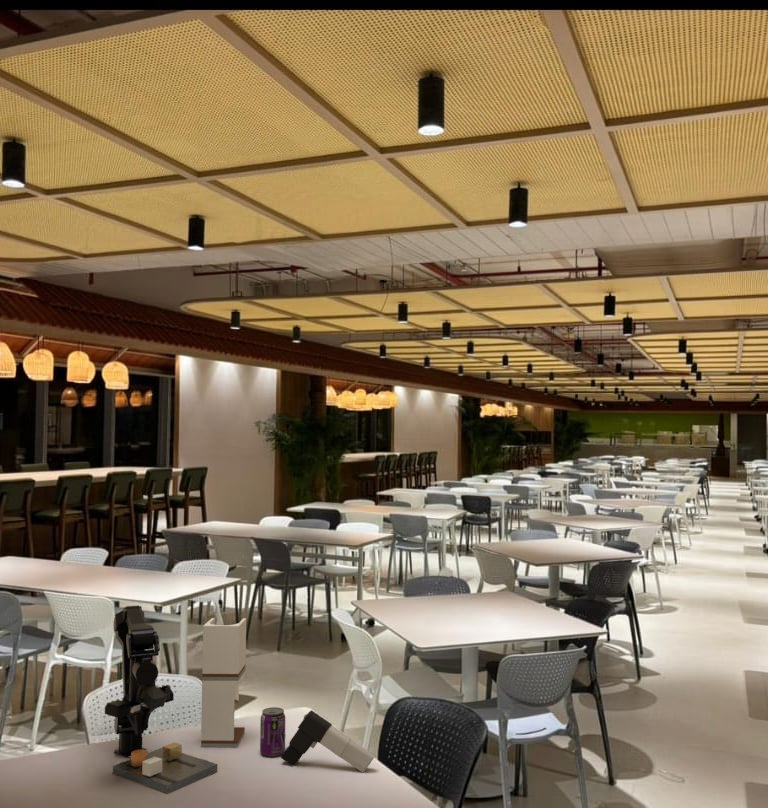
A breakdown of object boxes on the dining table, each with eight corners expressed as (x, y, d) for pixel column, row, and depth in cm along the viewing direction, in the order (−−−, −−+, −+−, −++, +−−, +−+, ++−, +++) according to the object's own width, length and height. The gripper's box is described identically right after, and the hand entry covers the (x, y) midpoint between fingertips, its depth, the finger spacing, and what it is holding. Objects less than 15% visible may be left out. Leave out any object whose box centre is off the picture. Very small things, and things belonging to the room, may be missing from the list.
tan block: (162, 758, 216) (162, 746, 217) (174, 754, 220) (174, 742, 220) (170, 761, 215) (170, 748, 215) (181, 756, 218) (181, 744, 218)
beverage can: (280, 758, 223) (280, 715, 223) (256, 756, 224) (257, 713, 225) (288, 749, 230) (288, 707, 230) (265, 747, 231) (265, 705, 232)
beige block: (142, 773, 206) (142, 761, 206) (154, 768, 209) (154, 756, 209) (149, 776, 204) (150, 763, 204) (162, 771, 207) (162, 759, 208)
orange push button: (127, 764, 212) (128, 752, 213) (140, 759, 216) (140, 748, 216) (137, 767, 210) (137, 756, 210) (149, 762, 213) (149, 751, 214)
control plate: (112, 773, 212) (112, 765, 212) (163, 754, 226) (163, 746, 226) (167, 793, 199) (167, 785, 200) (217, 771, 213) (217, 763, 213)
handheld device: (284, 752, 222) (310, 707, 221) (350, 799, 217) (376, 752, 216) (279, 758, 218) (305, 711, 217) (346, 805, 213) (373, 758, 212)
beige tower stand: (237, 747, 231) (239, 626, 233) (200, 747, 231) (203, 625, 233) (244, 734, 242) (246, 618, 245) (210, 733, 243) (212, 618, 245)
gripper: (131, 688, 202) (129, 751, 201) (187, 672, 218) (186, 730, 216) (104, 681, 209) (102, 742, 208) (160, 666, 224) (159, 722, 223)
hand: (139, 734), depth 213 cm, fingers closed
